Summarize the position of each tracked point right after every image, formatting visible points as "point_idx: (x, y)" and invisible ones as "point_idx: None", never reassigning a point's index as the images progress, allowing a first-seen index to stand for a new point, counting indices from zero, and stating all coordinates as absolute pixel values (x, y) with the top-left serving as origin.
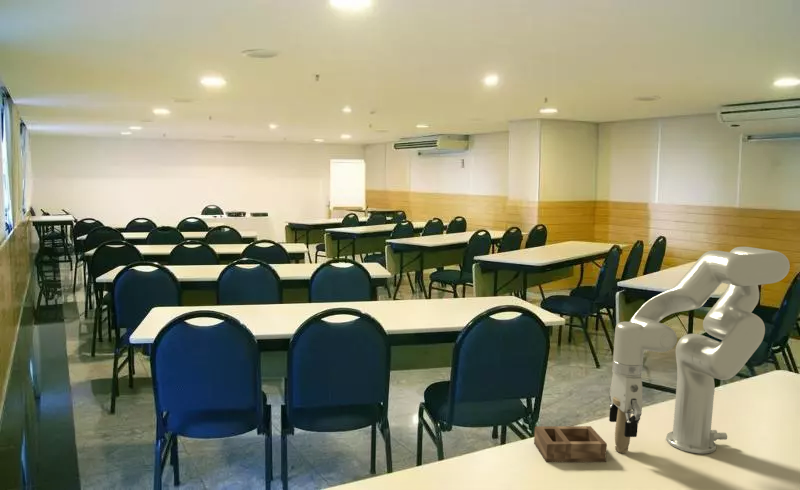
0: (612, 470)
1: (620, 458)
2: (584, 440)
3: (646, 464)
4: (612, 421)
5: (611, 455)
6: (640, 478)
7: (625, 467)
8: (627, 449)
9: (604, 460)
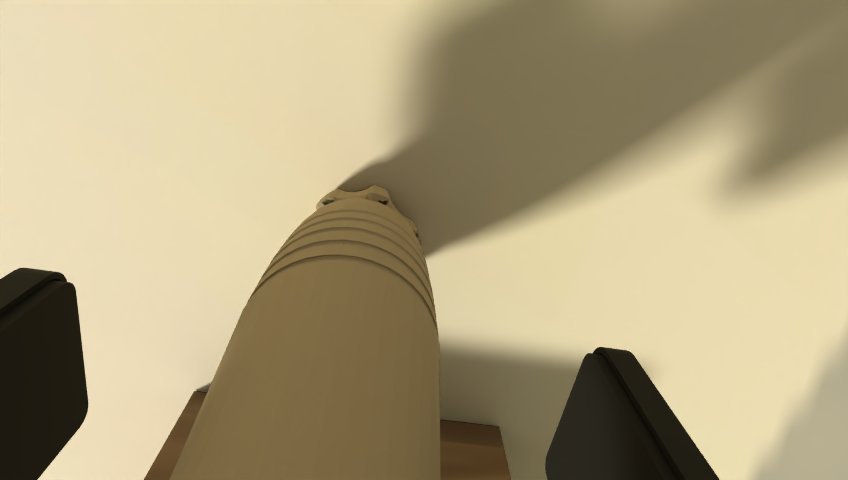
0: None
1: (478, 307)
2: None
3: (634, 164)
4: (82, 393)
5: None
6: (774, 338)
7: None
8: (392, 203)
9: (498, 441)
